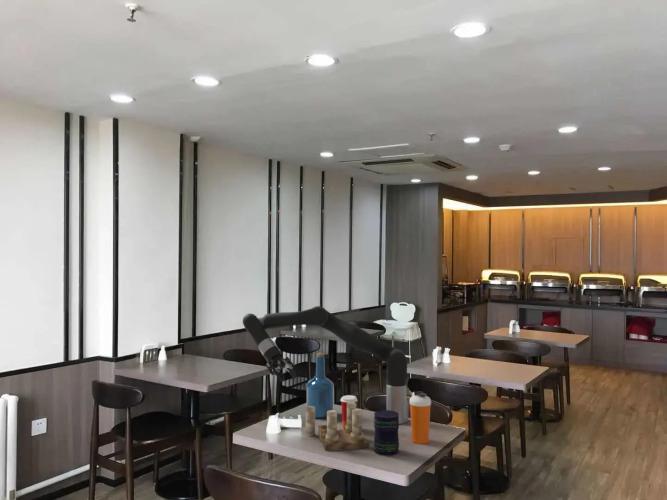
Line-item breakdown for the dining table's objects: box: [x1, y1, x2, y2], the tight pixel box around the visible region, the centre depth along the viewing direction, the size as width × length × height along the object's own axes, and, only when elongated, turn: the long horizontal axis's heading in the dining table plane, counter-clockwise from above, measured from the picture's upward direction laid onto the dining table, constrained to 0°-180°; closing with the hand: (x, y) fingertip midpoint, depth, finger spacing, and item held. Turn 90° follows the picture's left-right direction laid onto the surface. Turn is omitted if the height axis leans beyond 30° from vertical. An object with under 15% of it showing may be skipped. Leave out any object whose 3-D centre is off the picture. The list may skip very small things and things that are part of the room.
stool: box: [318, 402, 368, 452], centre depth 228 cm, size 17×17×14 cm
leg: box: [305, 405, 316, 438], centre depth 237 cm, size 4×4×12 cm
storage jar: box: [373, 403, 400, 457], centre depth 217 cm, size 10×10×18 cm
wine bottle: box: [305, 352, 335, 419], centre depth 268 cm, size 14×13×30 cm
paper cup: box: [339, 395, 359, 430], centre depth 246 cm, size 8×8×14 cm
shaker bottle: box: [408, 391, 432, 445], centre depth 230 cm, size 9×9×20 cm
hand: (289, 379), depth 244 cm, fingers open, 8 cm apart
